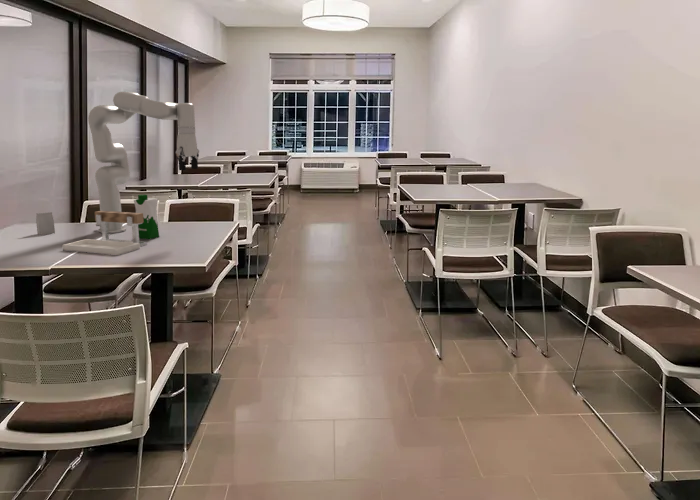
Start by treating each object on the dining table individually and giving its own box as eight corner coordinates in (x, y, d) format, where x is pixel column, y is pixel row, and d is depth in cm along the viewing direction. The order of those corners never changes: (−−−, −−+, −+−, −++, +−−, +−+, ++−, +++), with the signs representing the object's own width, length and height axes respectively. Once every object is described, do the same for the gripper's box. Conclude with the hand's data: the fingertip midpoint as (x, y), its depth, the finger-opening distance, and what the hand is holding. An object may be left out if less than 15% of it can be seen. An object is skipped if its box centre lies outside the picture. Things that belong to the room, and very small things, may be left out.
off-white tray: (63, 250, 249) (62, 244, 249) (86, 244, 262) (86, 239, 262) (118, 255, 241) (117, 249, 240) (140, 248, 254) (139, 243, 253)
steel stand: (94, 244, 263) (92, 214, 260) (105, 241, 269) (103, 212, 267) (137, 247, 256) (134, 217, 253) (147, 244, 263) (145, 214, 260)
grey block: (55, 233, 289) (53, 212, 287) (39, 235, 284) (37, 214, 282) (52, 232, 291) (50, 211, 289) (37, 233, 287) (35, 213, 285)
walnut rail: (95, 221, 262) (94, 211, 261) (101, 219, 266) (100, 210, 265) (137, 223, 255) (137, 214, 255) (143, 222, 259) (143, 213, 258)
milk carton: (134, 238, 276) (131, 195, 272) (146, 235, 284) (144, 193, 280) (150, 239, 273) (147, 195, 269) (162, 236, 281) (159, 193, 277)
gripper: (190, 131, 280) (192, 168, 284) (168, 131, 264) (170, 170, 268) (204, 131, 278) (206, 168, 281) (182, 131, 262) (185, 171, 265)
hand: (188, 169), depth 275 cm, fingers open, 9 cm apart
